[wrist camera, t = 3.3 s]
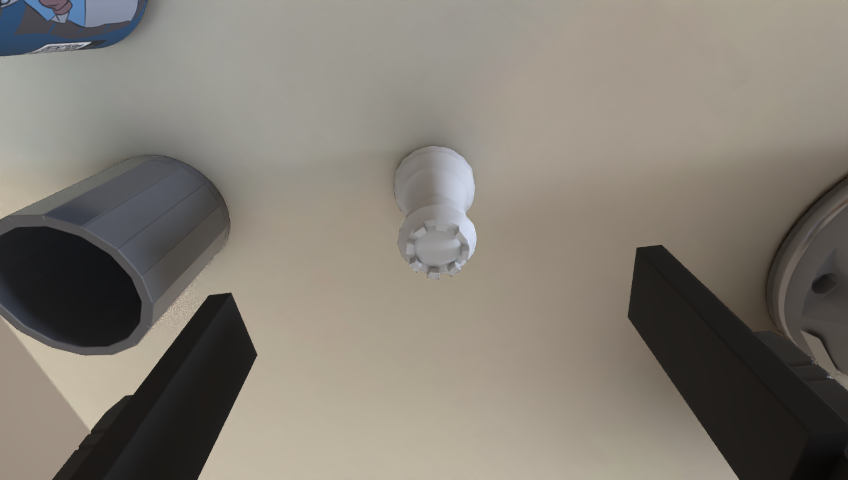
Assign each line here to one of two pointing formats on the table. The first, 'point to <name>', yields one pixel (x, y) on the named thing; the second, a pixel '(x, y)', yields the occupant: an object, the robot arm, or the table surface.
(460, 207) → the rook chess piece
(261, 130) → the table surface
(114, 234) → the cup
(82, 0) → the soda can
